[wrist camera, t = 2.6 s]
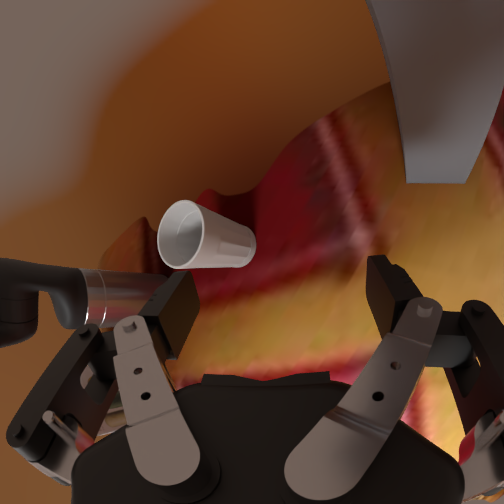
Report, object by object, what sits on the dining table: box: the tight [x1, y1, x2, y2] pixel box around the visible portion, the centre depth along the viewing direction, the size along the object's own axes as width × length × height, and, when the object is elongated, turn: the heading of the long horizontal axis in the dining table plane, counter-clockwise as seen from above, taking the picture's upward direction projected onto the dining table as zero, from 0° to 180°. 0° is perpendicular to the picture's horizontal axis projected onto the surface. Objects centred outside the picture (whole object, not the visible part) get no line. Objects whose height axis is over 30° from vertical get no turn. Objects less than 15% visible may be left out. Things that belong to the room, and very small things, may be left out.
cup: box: [157, 200, 256, 269], centre depth 36 cm, size 8×8×12 cm
